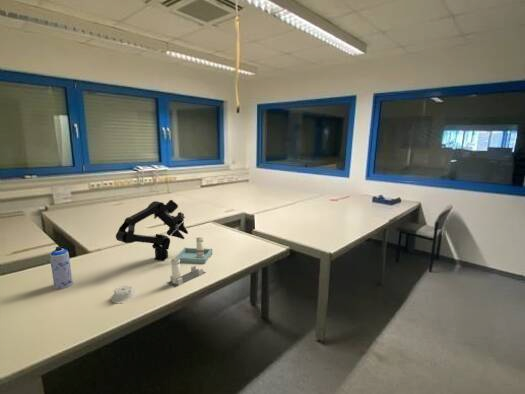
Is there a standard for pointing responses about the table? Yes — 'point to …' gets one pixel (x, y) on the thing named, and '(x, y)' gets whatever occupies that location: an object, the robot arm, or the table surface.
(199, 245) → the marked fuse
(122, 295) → the mechanical component
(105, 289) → the table surface
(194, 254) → the tray
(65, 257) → the aerosol can
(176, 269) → the fuse
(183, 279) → the fuse holder
